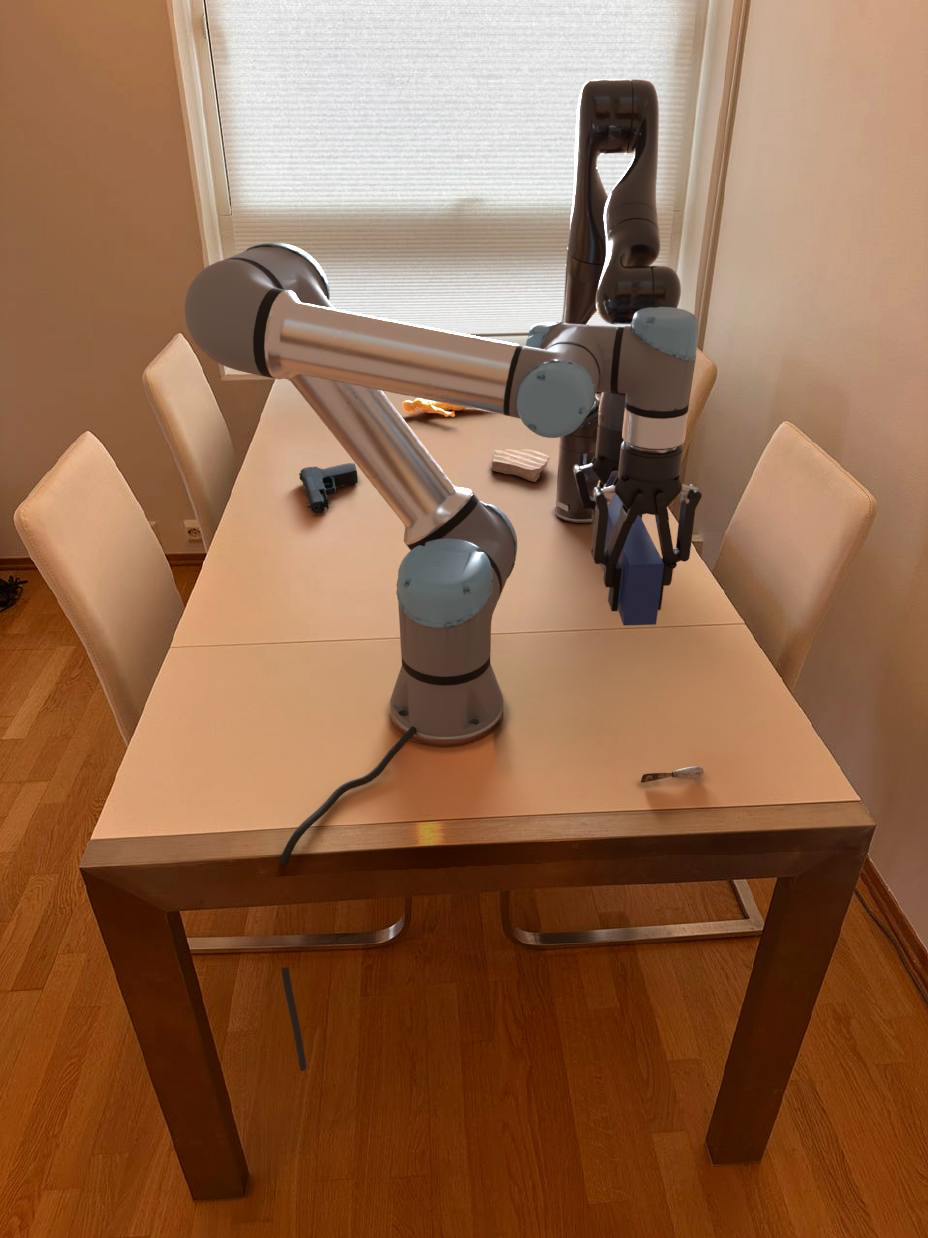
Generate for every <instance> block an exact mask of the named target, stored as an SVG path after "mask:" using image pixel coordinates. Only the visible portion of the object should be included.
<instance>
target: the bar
mask: <svg viewBox="0 0 928 1238" xmlns="http://www.w3.org/2000/svg"><path fill="white" fill-rule="evenodd" d="M622 504H623V503H622V502H621V500H620V499H619V497H618V496H617V495H615V496H614V497H613V499H612V503H611V505H610V506H608V523H607V531H606V540H605V549H604V551H606V549H607V546H608V543H609V541H610V538H611V536H612V533H613V530H614V528H615V525H616V523H617V520H618V518H619V515H620V509H621V506H622ZM661 558H662V557H661V555H660V554H659V551H658V549H657V547H656V545H655V543H654V541H653V539H652V537H651V535H650V533H649V531H648V529H647V527H646V525H645V523H644V521H643V518H642V519H641V517H640V515H637V518H636V520H635V522H634V523H633V524H632V527H631V529H630V532H629V534H628V537H627V539H626V542H625V544H624V547H623V549H622V552H621V554H620V557H619V559H618V561H619V564H620V566H621V569H622V570H621V580H620V590H619V600H618V609H617V612H618V615H619V617H620V620H621V623H622V625H623V627H625V626H627V627H629V626H655V625H657V620H658V613H659V610H658V606H659V599H660V591H661V584H662V576H663V568H664V563H663V561H662V559H661ZM600 567H601V570H602V571H603V570H604V565H603V564H600Z"/></svg>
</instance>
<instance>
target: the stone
mask: <svg viewBox="0 0 928 1238" xmlns="http://www.w3.org/2000/svg"><path fill="white" fill-rule="evenodd" d="M549 461H550V456H549V455H547V454H545V453H543V451H542V450H540V451H537V450H533V449H525V448H524V449H523V448H521V449H510V448H502V449H494V450H493V452H492V459H491V465H490V469H489V470H490V471H492V472H497V473H501V474H504V475H513V476H517V477H520V478H522V479H524V480H527V481H529V482H533V483H534V482H537V480H539V478H540V476H541V472H542V471H544V469H545V468H547V466H548V463H549Z"/></svg>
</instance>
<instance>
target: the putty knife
mask: <svg viewBox="0 0 928 1238" xmlns="http://www.w3.org/2000/svg"><path fill="white" fill-rule="evenodd" d="M704 772H705V771H704V768H702V767H701V766H697V765H695V766H688V767H683V768H679V769H675V770H673V771H671V772H653V773H652V772H651V773H650V772H649V773H644V774H642V776H641V779H640V783H642V784H645V783H648V782H653V781H659V780H665V779H668V778H673V779H674V778H675V779H693V778H694V779H695V778H700V777H702V776H703V775H704Z"/></svg>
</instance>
